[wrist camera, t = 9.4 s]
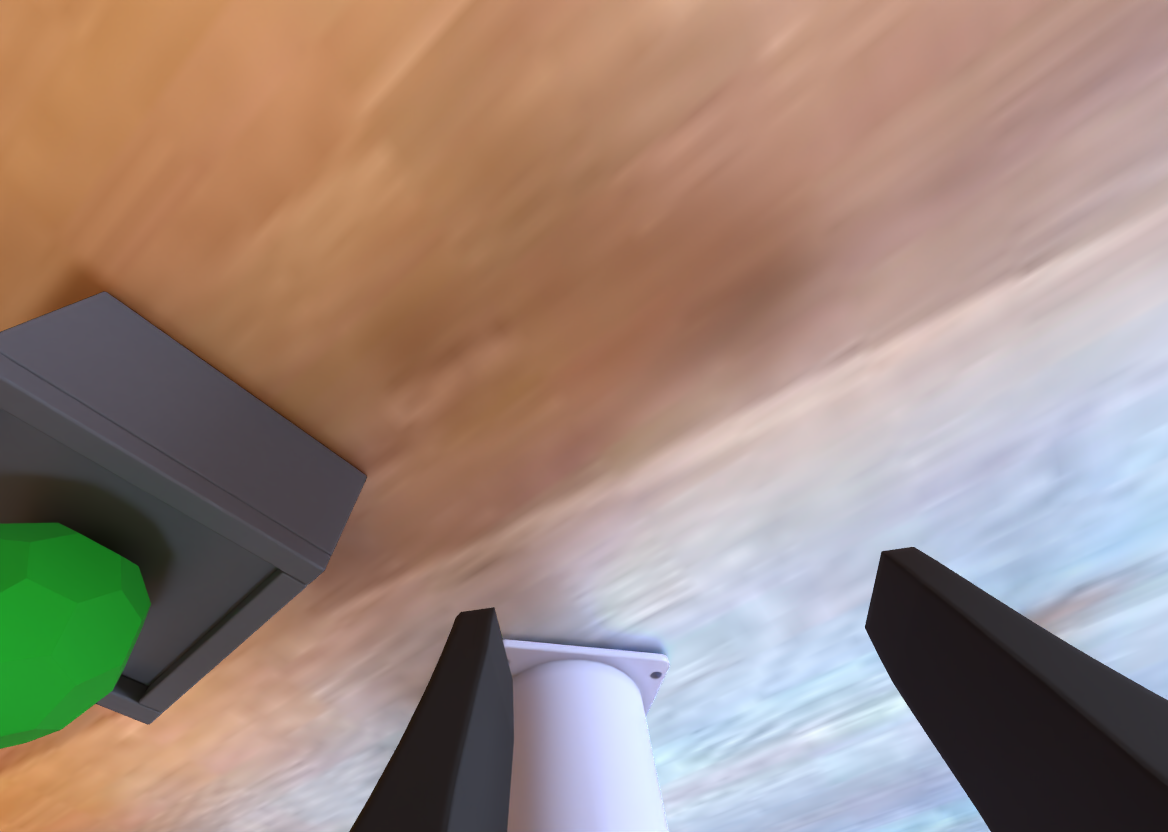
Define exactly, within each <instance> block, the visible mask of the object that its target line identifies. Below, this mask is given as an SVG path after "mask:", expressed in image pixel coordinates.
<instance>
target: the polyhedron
mask: <svg viewBox="0 0 1168 832" xmlns="http://www.w3.org/2000/svg"><path fill="white" fill-rule="evenodd" d="M150 606H151V602H150V599H149V596H148V593H147V590H146V587H145V584H144V581H143V578H142V575H141V572H140V569H139V566H137V565H136V564H134V563H132V562H131V561H129V560H127V559H126V558H124V557H122V556H121V555H119V554H117V553H115V552H113V551H111V550H109V549H108V548H106V547H104V546H102V545H100V544H98V543H97V542H95V541H93V540H91V539H89V538H87V537H86V536H84V535H82V534H80V533H78V532H76V531H74V530H72V529H70V528H68V527H66V526H64V525H62V524H60V523H9V524H0V749H1V748H6V747H10V746H14V745H19V744H23V743H27V742H29V741H32V740H35V739H37V738H40V737H43V736H45V735H48V734H51V733H53V732H56V731H59V730H61V729H63V728H64V727H65V726H67V725H68V724H69V723H71V722H72V721H73V720H75V719H76V718H77V717H78V716H80V715H81V714H82V713H84V712H85V711H86V710H88V709H89V708H90V707H92V706H93V705H94V704H96V703H97V702H98V701H100V700H101V699H102V698H104V697H105V696H106V695H108V694H109V693H110V692H111V691H113V689H114V687H115V685H116V683H117V681H118V679H119V678H120V676H121V674H122V672H123V670H124V668H125V665H126V663H127V661H128V659H129V656H130V654H131V652H132V650H133V647H134V645H135V643H136V641H137V638H138V636H139V634H140V632H141V629H142V627H143V624H144V622H145V619H146V616H147V614H148V611H149V608H150Z"/></svg>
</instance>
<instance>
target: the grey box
mask: <svg viewBox="0 0 1168 832" xmlns="http://www.w3.org/2000/svg"><path fill="white" fill-rule="evenodd" d="M366 478H367V476H366V475H365V474H363V473H362V472H360V471H359V470H357V469H356V468H355V467H353V466H352V465H350V464H349V463H348V462H346V461H345V460H343V459H342V458H340V457H339V456H338V455H336V454H335V453H333V452H332V451H331V450H329V449H328V448H326V447H325V446H324V445H322V444H321V443H319V442H318V441H316V440H315V439H314V438H312V437H311V436H309V435H308V434H307V433H305V432H304V431H302V430H301V429H299V428H298V427H297V426H295V425H294V424H292V423H291V422H290V421H288V420H287V419H285V418H284V417H282V416H281V415H280V414H278V413H277V412H275V411H274V410H273V409H271V408H270V407H268V406H267V405H265V404H264V403H263V402H261V401H260V400H258V399H257V398H256V397H254V396H253V395H251V394H250V393H249V392H247V391H246V390H244V389H243V388H241V387H240V386H239V385H237V384H236V383H234V382H233V381H232V380H230V379H229V378H227V377H226V376H224V375H223V374H222V373H220V372H219V371H217V370H216V369H215V368H213V367H212V366H210V365H209V364H207V363H206V362H205V361H203V360H202V359H200V358H199V357H198V356H196V355H195V354H193V353H192V352H191V351H189V350H188V349H186V348H185V347H183V346H182V345H181V344H179V343H178V342H176V341H175V340H174V339H172V338H171V337H169V336H168V335H166V334H165V333H164V332H162V331H161V330H159V329H158V328H157V327H155V326H154V325H152V324H151V323H149V322H148V321H147V320H145V319H144V318H142V317H141V316H140V315H138V314H137V313H135V312H134V311H133V310H131V309H130V308H128V307H127V306H125V305H124V304H123V303H121V302H120V301H118V300H117V299H116V298H114V297H113V296H111V295H110V294H108V293H107V292H101V293H99V294H96V295H94V296H91V297H88V298H86V299H83V300H81V301H78V302H76V303H73V304H71V305H68V306H65V307H63V308H60V309H58V310H55V311H53V312H50V313H48V314H45V315H42V316H40V317H37V318H35V319H32V320H30V321H27V322H25V323H22V324H19V325H17V326H14V327H12V328H9V329H7V330H4V331H2V332H0V524H9V523H60V524H62V525H64V526H66V527H68V528H70V529H72V530H74V531H76V532H78V533H80V534H82V535H84V536H86V537H87V538H89V539H91V540H93V541H95V542H97V543H98V544H100V545H102V546H104V547H106V548H108V549H109V550H111V551H113V552H115V553H117V554H119V555H121V556H122V557H124V558H126V559H127V560H129V561H131V562H132V563H134V564H136V565H137V566H139V569H140V572H141V575H142V578H143V581H144V584H145V587H146V590H147V593H148V596H149V599H150V602H151V606H150V608H149V611H148V614H147V616H146V619H145V622H144V624H143V627H142V629H141V632H140V634H139V636H138V638H137V641H136V643H135V645H134V647H133V650H132V652H131V654H130V656H129V659H128V661H127V663H126V665H125V668H124V670H123V672H122V674H121V676H120V678H119V679H118V681H117V683H116V685H115V687H114V689H113V691H111V692H110V693H109V694H108V695H106V696H105V697H104V698H102V699H101V700H100V701H98V702H97V703H96V704H98V705H100V706H103V707H105V708H108V709H110V710H113V711H115V712H118V713H120V714H123V715H125V716H128V717H130V718H133V719H135V720H138V721H140V722H143V723H145V724H151V723H152V722H153V721H154V720H155V719H156V718H157V717H159V716H160V715H161V714H162V713H163V712H164V711H165V710H166V709H168V708H169V707H170V706H171V705H172V704H173V703H174V702H175V701H177V700H178V699H179V698H180V697H181V696H182V695H183V694H185V693H186V692H187V691H188V690H189V689H190V688H191V687H193V686H194V685H195V684H196V683H197V682H198V681H199V680H201V679H202V678H203V677H204V676H205V675H206V674H207V673H209V672H210V671H211V670H212V669H213V668H214V667H215V666H217V665H218V664H219V663H220V662H221V661H222V660H223V659H224V658H226V657H227V656H228V655H229V654H230V653H231V652H232V651H234V650H235V649H236V648H237V647H238V646H239V645H240V644H242V643H243V642H244V641H245V640H246V639H247V638H248V637H250V636H251V635H252V634H253V633H254V632H255V631H256V630H258V629H259V628H260V627H261V626H262V625H263V624H264V623H265V622H267V621H268V620H269V619H270V618H271V617H272V616H273V615H275V614H276V613H277V612H278V611H279V610H280V609H281V608H283V607H284V606H285V605H286V604H287V603H288V602H289V601H291V600H292V599H293V598H294V597H295V596H296V595H297V594H299V593H300V592H301V591H302V590H303V589H304V588H305V587H306V586H307V585H308V584H310V583H311V582H312V581H313V580H314V579H316V578H317V577H318V576H319V575H320V574H321V573H322V572H324V571H325V569H326V566H327V564H328V562H329V560H330V556H332V553H333V551H334V549H335V547H336V545H337V542H338V540H339V538H340V536H341V534H342V531H343V529H344V527H345V525H346V523H347V520H348V518H349V516H350V514H351V512H352V509H353V507H354V505H355V503H356V501H357V498H358V496H359V494H360V492H361V489H362V487H363V485H364V483H365V481H366Z"/></svg>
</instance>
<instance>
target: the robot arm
mask: <svg viewBox="0 0 1168 832" xmlns="http://www.w3.org/2000/svg"><path fill="white" fill-rule="evenodd" d="M865 629H866V631H867V633H868V635H869V637H870V639H871V641H872V643H873V645H874V647H875V649H876V651H877V653H878V655H879V657H880V659H881V661H882V663H883V665H884V667H885V669H886V670H887V672H888V674H889V676H890V678H891V680H892V682H893V683H894V685H895V686H896V688H897V690H898V691H899V693H900V694H901V696H902V697H903V699H904V700H905V702H906V703H907V705H908V706H909V708H910V710H911V711H912V713H913V714H914V716H915V717H916V719H917V720H918V722H919V723H920V725H921V726H922V728H923V729H924V731H925V732H926V734H927V735H928V737H929V738H930V740H931V741H932V743H933V744H934V746H935V747H936V749H937V750H938V752H939V753H940V755H941V756H942V758H943V759H944V761H945V762H946V764H947V765H948V767H949V768H950V770H951V771H952V773H953V774H954V776H955V777H956V779H957V780H958V782H959V783H960V785H961V786H962V788H963V789H964V791H965V792H966V794H967V795H968V797H969V798H970V800H971V801H972V803H973V804H974V806H975V807H976V809H977V810H978V812H979V813H980V815H981V816H982V818H983V820H984V821H985V823H986V824H987V826H988V828H989V829H990V831H991V832H1168V700H1166V699H1164V698H1163V697H1161V696H1159V695H1157V694H1155V693H1153V692H1152V691H1150V690H1148V689H1146V688H1144V687H1143V686H1141V685H1139V684H1137V683H1136V682H1134V681H1132V680H1130V679H1129V678H1127V677H1125V676H1123V675H1122V674H1120V673H1118V672H1116V671H1115V670H1113V669H1111V668H1109V667H1108V666H1106V665H1104V664H1102V663H1101V662H1099V661H1097V660H1095V659H1093V658H1092V657H1090V656H1088V655H1087V654H1085V653H1083V652H1082V651H1080V650H1078V649H1077V648H1075V647H1073V646H1072V645H1070V644H1068V643H1067V642H1065V641H1063V640H1062V639H1060V638H1058V637H1057V636H1055V635H1053V634H1052V633H1050V632H1048V631H1047V630H1045V629H1044V628H1042V627H1040V626H1039V625H1037V624H1036V623H1034V622H1032V621H1031V620H1029V619H1027V618H1026V617H1024V616H1023V615H1021V614H1019V613H1018V612H1016V611H1015V610H1013V609H1012V608H1010V607H1008V606H1007V605H1005V604H1004V603H1002V602H1000V601H999V600H997V599H996V598H994V597H993V596H991V595H989V594H988V593H986V592H985V591H983V590H982V589H980V588H978V587H977V586H975V585H974V584H972V583H971V582H969V581H968V580H966V579H964V578H963V577H961V576H960V575H958V574H957V573H955V572H953V571H952V570H950V569H949V568H947V567H946V566H944V565H942V564H941V563H939V562H938V561H936V560H934V559H933V558H931V557H930V556H928V555H926V554H925V553H923V552H921V551H920V550H918V549H916V548H915V547H909V548H902V549H895V550H888V551H882V552H881V557H880V561H879V566H878V570H877V575H876V579H875V584H874V588H873V593H872V597H871V602H870V606H869V611H868V615H867V620H866V625H865ZM669 667H670V664H669V660H668V658H667V656H665V655H663V654H657V653H646V652H636V651H625V650H615V649H604V648H593V647H583V646H572V645H561V644H551V643H540V642H530V641H519V640H508V639H505V640H503V639H502V635H501V631H500V628H499V624H498V620H497V616H496V612H495V608H494V607H493V608H486V609H479V610H472V611H465V612H461V613H460V614H459V615H458V616H457V617H456V619H455V621H454V624H453V627H452V629H451V632H450V634H449V637H448V639H447V642H446V644H445V647H444V649H443V651H442V654H441V656H440V658H439V661H438V663H437V665H436V667H435V670H434V672H433V674H432V676H431V679H430V681H429V683H428V685H427V687H426V689H425V692H424V694H423V696H422V698H421V700H420V702H419V704H418V706H417V708H416V710H415V712H414V714H413V716H412V718H411V720H410V722H409V724H408V726H407V728H406V730H405V732H404V734H403V736H402V738H401V740H400V742H399V744H398V746H397V748H396V750H395V751H394V753H393V755H392V757H391V759H390V761H389V762H388V764H387V766H386V768H385V770H384V772H383V773H382V775H381V777H380V779H379V781H378V783H377V784H376V786H375V788H374V790H373V792H372V793H371V795H370V797H369V799H368V801H367V802H366V804H365V806H364V808H363V809H362V811H361V813H360V814H359V816H358V818H357V819H356V821H355V823H354V825H353V826H352V828H351V830H350V831H349V832H669V830H668V825H667V820H666V815H665V810H664V805H663V800H662V795H661V790H660V785H659V780H658V775H657V770H656V765H655V760H654V755H653V751H652V746H651V741H650V736H649V731H648V726H647V721H646V716H647V714H648V711H649V709H650V707H651V705H652V703H653V701H654V699H655V697H656V695H657V693H658V691H659V689H660V686H661V684H662V682H663V680H664V678H665V676H666V674H667V672H668V670H669Z"/></svg>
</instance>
